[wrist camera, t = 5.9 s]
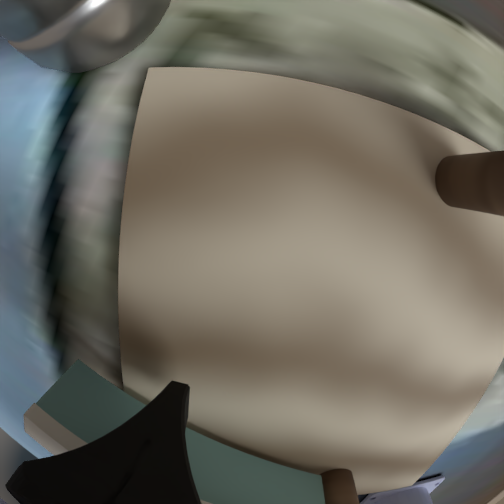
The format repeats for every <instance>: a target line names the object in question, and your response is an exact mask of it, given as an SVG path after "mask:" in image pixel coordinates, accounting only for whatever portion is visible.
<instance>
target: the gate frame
mask: <svg viewBox="0 0 504 504" xmlns="http://www.w3.org/2000/svg"><path fill="white" fill-rule="evenodd" d="M118 316H119V340H120V355H121V367H122V377H123V386H124V392H125V393H127V394H128V395H130V396H132V397H133V398H135V399H136V400H138V401H140V402H141V403H143V404H145V405H147V404H149V403H150V402H151V401H152V400H153V399H154V398H155V397H156V396H157V395H158V394H159V393H160V392H161V391H162V390H163V389H164V388H165V387H166V386H167V385H168V384H169V383H170V382H171V381H176V382H180V383H184V384H189V385H188V386H189V387H190V395H189V411H188V420H187V425H186V427H187V428H189V429H191V430H193V431H195V432H197V433H199V434H202V435H204V436H206V437H208V438H210V439H213V440H215V441H217V442H219V443H222V444H224V445H227V446H229V447H232V448H234V449H237V450H239V451H242V452H244V453H247V454H250V455H253V456H255V457H258V458H261V459H264V460H267V461H270V462H273V463H276V464H280V465H283V466H286V467H290V468H293V469H297V470H300V471H304V472H308V473H312V474H316V475H321V477H322V484H323V491H324V498H325V504H359V499H358V495H362V494H369V493H376V492H383V491H388V490H394V489H399V488H403V487H408V486H412V485H413V484H414V483H415V482H416V481H417V480H418V479H419V478H420V477H421V476H422V475H423V474H424V473H425V472H426V470H427V469H428V468H429V467H430V466H431V465H432V464H433V463H434V462H435V460H436V459H437V458H438V457H439V456H440V455H441V453H442V452H443V451H444V450H445V449H446V447H447V446H448V445H449V444H450V442H451V441H452V440H453V438H454V437H455V436H456V434H457V433H458V432H459V430H460V429H461V428H462V426H463V425H464V423H465V422H466V421H467V419H468V418H469V416H470V415H471V413H472V412H473V410H474V409H475V407H476V406H477V404H478V403H479V401H480V399H481V398H482V396H483V394H484V393H485V391H486V389H487V388H488V386H489V384H490V382H491V381H492V379H493V377H494V375H495V373H496V371H497V369H498V368H499V366H500V364H501V362H502V360H503V358H504V151H494V152H491V151H489V150H487V149H486V148H484V147H482V146H480V145H479V144H477V143H475V142H473V141H471V140H469V139H468V138H466V137H464V136H462V135H460V134H458V133H456V132H454V131H452V130H450V129H448V128H446V127H443V126H441V125H439V124H437V123H435V122H432V121H430V120H428V119H426V118H423V117H421V116H418V115H416V114H414V113H411V112H409V111H406V110H403V109H401V108H398V107H395V106H393V105H390V104H387V103H384V102H381V101H378V100H375V99H372V98H369V97H366V96H363V95H359V94H356V93H352V92H349V91H345V90H342V89H338V88H334V87H330V86H326V85H322V84H318V83H313V82H308V81H304V80H299V79H294V78H288V77H282V76H276V75H270V74H263V73H256V72H248V71H239V70H228V69H215V68H194V67H152V68H149V69H148V73H147V76H146V80H145V84H144V88H143V92H142V96H141V100H140V104H139V108H138V113H137V117H136V122H135V127H134V132H133V137H132V143H131V148H130V154H129V161H128V167H127V174H126V181H125V189H124V198H123V207H122V218H121V230H120V245H119V269H118Z"/></svg>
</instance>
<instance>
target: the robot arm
mask: <svg viewBox="0 0 504 504" xmlns="http://www.w3.org/2000/svg"><path fill="white" fill-rule="evenodd" d="M188 385H189V384H184V383H180V382H176V381H171V382H170V383H169V384H168V385H167V386H166V387H165V388H164V389H163V390H162V391H161V392H160V393H159V394H158V395H157V396H156V397H155V398H154V399H153V400H152V401H151V402H150V403H149V404H147V405H146V406H145V407H144V408H143V409H142V410H140V411H139V412H138V413H137V414H135V415H134V416H133V417H131V418H130V419H129V420H127V421H126V422H125V423H123V424H122V425H120V426H119V427H117V428H116V429H114V430H113V431H111V432H109V433H107V434H106V435H104V436H102V437H100V438H98V439H96V440H94V441H92V442H90V443H88V444H86V445H84V446H81V447H79V448H76V449H73V450H70V451H67V452H64V453H61V454H58V455H55V456H51V457H46V458H41V459H36V460H30V461H24V462H23V463H22V464H21V465H20V466H19V467H18V468H17V470H16V471H15V472H14V474H13V475H12V476H11V478H10V480H9V481H8V482H7V484H6V488H7V490H8V491H9V492H10V494H12V496H13V497H14V498H15V499H16V500H17V501H18V502H19V503H20V504H202V503H201V501H200V498H199V495H198V492H197V489H196V486H195V483H194V480H193V476H192V472H191V468H190V463H189V458H188V453H187V446H186V437H185V430H186V425H187V420H188V411H189V395H190V387H189V386H188ZM444 479H445V477H444V475H441V476H438V477H434V478H431V479H427V480H423V481H419V482H415V483H414V484H413V485H412V486H408V487H403V488H399V489H394V490H388V491H383V492H376V493H370V494H369V495H368V496H367V497H366V498H365V499H364V500H363V501H362V502H361V503H360V504H433V502H432V500H431V497H430V495H429V493H431V492H432V491H433V490H434V489H435V488H436V487H437V486H438V485H439V484H440V483H441V482H442V481H443V480H444ZM0 504H7V503H6V502H5V501H4V500H3V499H1V498H0Z"/></svg>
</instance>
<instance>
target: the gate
mask: <svg viewBox="0 0 504 504" xmlns="http://www.w3.org/2000/svg"><path fill="white" fill-rule="evenodd" d="M145 406H146V405H145V404H143V403H141V402H140V401H138V400H136V399H135V398H133V397H132V396H130V395H128V394H127V393H125V392H124V391H122V390H121V389H119V388H118V387H116V386H115V385H113V384H112V383H110V382H109V381H107V380H106V379H104V378H103V377H102V376H100V375H99V374H97V373H96V372H95V371H93V370H92V369H91V368H89V367H88V366H87V365H85V364H84V363H83V362H81V361H80V360H79V359H78V360H77V361H76V362H75V363H74V364H73V365H72V366H71V367H70V368H69V369H68V370H67V371H66V372H65V373H64V374H63V375H62V376H61V377H60V378H59V380H58V381H57V382H56V383H55V384H54V385H53V386H52V387H51V388H50V389H49V390H48V391H47V392H46V393H45V394H44V395H43V396H42V397H41V399H40V400H39V401H38V402H37V403H36V404H35V403H34V404H33V405H32V406H31V407H30V408H29V409H28V410H27V411H26V412H25V414H24V427H25V432H26V433H27V434H28V435H30V436H31V437H32V438H33V439H34V440H36V441H37V442H38V443H39V444H41V445H42V446H43V447H44V448H46V449H47V450H48V451H49V452H51V453H52V454H53V455H58V454H61V453H64V452H67V451H70V450H73V449H76V448H79V447H81V446H84V445H86V444H88V443H90V442H92V441H94V440H96V439H98V438H100V437H102V436H104V435H106V434H107V433H109V432H111V431H113V430H114V429H116V428H117V427H119V426H120V425H122V424H123V423H125V422H126V421H127V420H129V419H130V418H131V417H133V416H134V415H135V414H137V413H138V412H139V411H140V410H142V409H143V408H144V407H145ZM185 437H186V446H187V453H188V458H189V463H190V468H191V472H192V476H193V480H194V483H195V486H196V489H197V492H198V495H199V498H200V501H201V503H202V504H325V498H324V491H323V484H322V477H321V475H316V474H312V473H308V472H304V471H300V470H297V469H293V468H290V467H286V466H283V465H280V464H276V463H273V462H270V461H267V460H264V459H261V458H258V457H255V456H253V455H250V454H247V453H244V452H242V451H239V450H237V449H234V448H232V447H229V446H227V445H224V444H222V443H219V442H217V441H215V440H213V439H210V438H208V437H206V436H204V435H202V434H199V433H197V432H195V431H193V430H191V429H189V428H187V427H186V430H185Z"/></svg>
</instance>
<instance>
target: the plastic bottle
mask: <svg viewBox="0 0 504 504" xmlns="http://www.w3.org/2000/svg"><path fill="white" fill-rule="evenodd" d="M170 1H171V0H0V36H1V37H3V38H5V39H7V40H8V42H9V44H11V45H12V46H13V47H14V48H15V49H16V50H17V51H18V52H20V53H21V54H23V55H24V56H26V57H27V58H29V59H30V60H32V61H33V62H35V63H36V64H37V65H39V66H40V67H43V68H48V69H53V70H59V71H64V72H69V73H80V72H84V71H89V70H93V69H95V68H98V67H101V66H104V65H106V64H109V63H112V62H114V61H116V60H118V59H119V58H121V57H123V56H125V55H126V54H128V53H129V52H131V51H132V50H134V49H135V48H136V47H137V46H139V45H140V44H141V43H142V42H143V41H144V40H145V39H146V38H147V37H148V36H149V35H150V34H151V33H152V32H153V31H154V30H155V28H156V27H157V26H158V24H159V23H160V21H161V19H162V17H163V16H164V14H165V12H166V10H167V8H168V7H169V5H170Z"/></svg>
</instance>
